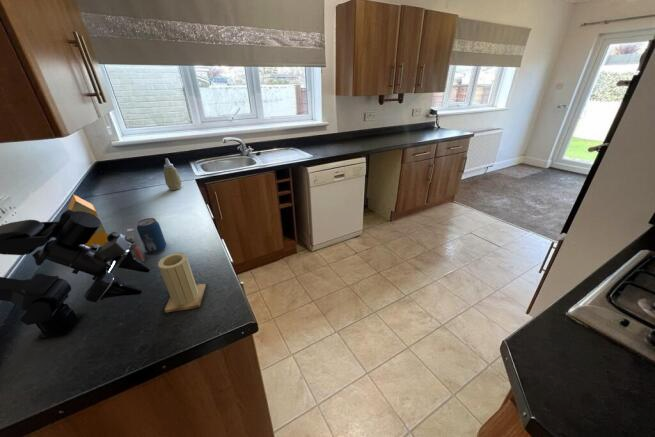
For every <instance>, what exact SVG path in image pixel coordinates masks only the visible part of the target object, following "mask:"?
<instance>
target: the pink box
mask: <svg viewBox="0 0 655 437" xmlns="http://www.w3.org/2000/svg"><path fill="white" fill-rule="evenodd" d="M125 236H126V238H125V240H126V241H127V242H129V243H132V245H131V247H130V249H131V248H132V247H133V252H134V255H135V256H136V257H137V258H138V259H139V260H140V261H141V262H142V263H144V261H145V260H146V258H145V256H143V253H142V250H141V248H140V245H139V242H138V240H133V237H132V236H127V235H125ZM130 249H129V250H130Z"/></svg>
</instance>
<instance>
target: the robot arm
mask: <svg viewBox="0 0 655 437" xmlns="http://www.w3.org/2000/svg"><path fill="white" fill-rule="evenodd" d="M98 217H99V216H98ZM98 217H97V216H95V215H94V214H92V213H89V212H88V213H87V212H82V211H75V212H74V211H71V210H69V209H68V208H67V209H65V211H64V212H62V214H61V215H60V217H59V220H58V221H39V220H38V219H37V220H36V219H25V220H19V221H18V220H17V221H12V222H8V223H5V224H1V225H0V255H4V256H6V255H7V256H26V255H30V254H32V253H33V252H34V251H35V252H34V253H33V254H32V257H33V259H34V262H35V265H36V266H41V265H42V264H43V263H45V261H46V260H47V261H50V262H53V263H56V264H58V265H62V266H64V267H67V268H70V269H73V270H72V272H71V273H72V274H75V275H78V273H79V272H82V273H84V274H86V275H87V274H88V275H90V276H92V279H91V280H92V283H91V284H90V285H89V287H88V289H87V290H86V291H85V293H84V295H83V297H84V299H85V300H86V301H88V302H92V303H95V304H97V302H98V301H103V300H104V299H108V298H115V297H124V296H125V297H126V296H138V295H139V296H140V295H141V294H142V293H143V290H142V289H141V288H138V287H136V286H134V285H131V284H128V283H126V282H124V281H122V280H121V277H120V276H119V275H118V274H117V275H116V276H114V275H113V273H114V270H115V269H116V268H118V269H123V270H124V269H125V270H129V271H135V272H140V273H147V274H148V273H150V271H151V268H150V267H148V266H147V264H145V263H144V262H141V261H140V260H139V259H138V258H137V257H136V256H135V255H134V252H133V247H132V248H131V249H130V247H131V245H132V243H129V242H127V241H126V240H125V238H126V236H127V235H125V234H122V233H119V232H116V231H112V232H111V233H109V234H107V236H108V237H107V240H108V241H107V242H106V243H105V244H104V245H102V246H99V245H96V244H95V245H94V244H93V245H92V246H91V247H88V246H85V245H84V244H86V243H88V241H89V240H90V239H91V237H92V236H93V235H94V233H95V232H96V231H97V229H98V228H99V227H100V225H101V223H102V221H101V219H100V217H99V218H98ZM40 247H43V248H42V249H38V248H40ZM129 249H130V250H129ZM117 265H118V266H117ZM71 291H72V286H71V284H70V283H69V282H68V280H67V279H64V278H61V277H59V275H49V274H45V273H36V274H34V275H33V277H31V278H29V279H16V278H11V277H3V276H0V301H2V302H9V303H11V304H13V305H14V306H15V307H17V308H18V309H20V310H21V311H25V312H24V314H23V315H22V316H21V317H20V319H19V321H20V323H23V324H24V325H26V326H31V325H36V327H37V328H38V329H39V331H40V332H41V333H39V335H38V336H37V339H38V340H43V339H51V338H56V337H62V336H67V335H68V334H69V333H70V332H71V331H72V329H73V328H74V327H75V326H76V324H77V323H78V321H80V319H81V317H82V314H76V312H75V311H74V309H73V308H71V307H70V306H69V304H68V303H66V302H65V301H66V300H67V299H68V298H69V294H70V292H71Z"/></svg>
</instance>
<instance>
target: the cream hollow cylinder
mask: <svg viewBox="0 0 655 437" xmlns="http://www.w3.org/2000/svg"><path fill="white" fill-rule="evenodd" d="M157 268H158V269H159V271H160V274H161V276H162V277H161V278H162V279H163V282H164V284H165V287H166V290H167V292H168V295H169V298H170V297H171V300H172V302H173V303H174V304H175V305H184V304H187V303H190V302H192V301H193V300H194V299H195V298H196V297H197V295H198V289H197V286H196V285H197V282H196V281H195V277H194V274H193V271H192V267H191V264H190V261H189V259H188V256H187V255H186V254H185V253H183V252H176V253H171V254H167V255H166V256H164V257H162V258H161V259H160V260H159V261H158V264H157Z"/></svg>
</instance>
